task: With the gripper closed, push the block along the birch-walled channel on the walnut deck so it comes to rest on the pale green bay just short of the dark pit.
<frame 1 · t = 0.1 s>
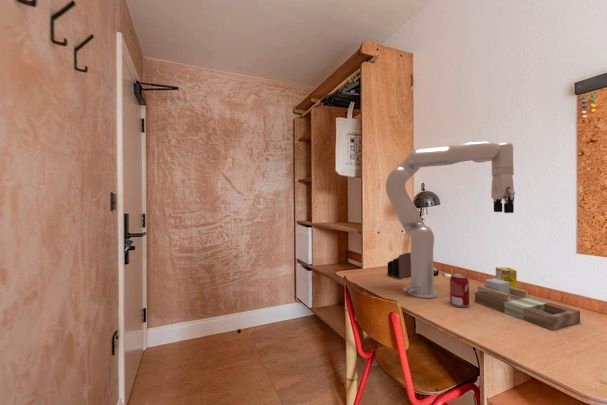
hand: (503, 212, 116), 37 cm above the table, tool pointing down, fingers open, 9 cm apart
letter holder: (406, 276, 155), on the table
block: (496, 293, 112), point 4 cm above the table, touching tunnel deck
supplement box: (506, 293, 124), on the table
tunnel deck: (522, 311, 103), on the table
soda can: (459, 305, 110), on the table
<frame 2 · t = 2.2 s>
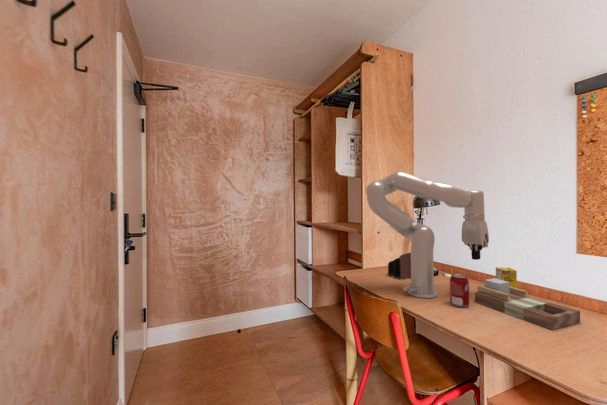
hand: (476, 259, 121), 16 cm above the table, tool pointing down, fingers closed
nothing on the table moved.
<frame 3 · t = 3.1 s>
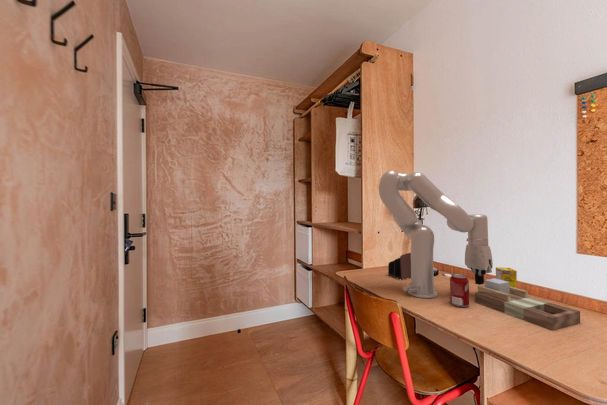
hand: (479, 283, 119), 6 cm above the table, tool pointing down, fingers closed
nothing on the table moved.
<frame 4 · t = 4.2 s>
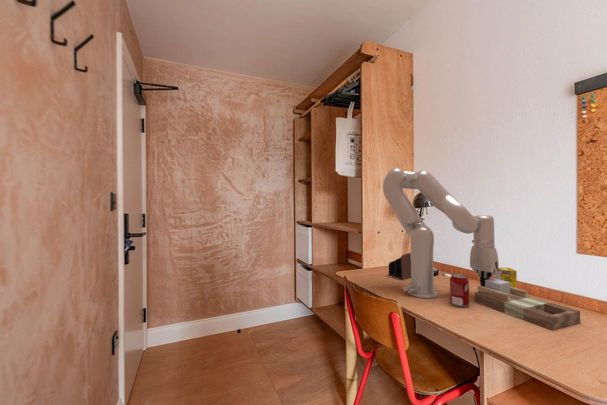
hand: (484, 286, 117), 5 cm above the table, tool pointing down, fingers closed
block: (497, 293, 112), point 4 cm above the table, touching gripper, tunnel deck
everything else where it was.
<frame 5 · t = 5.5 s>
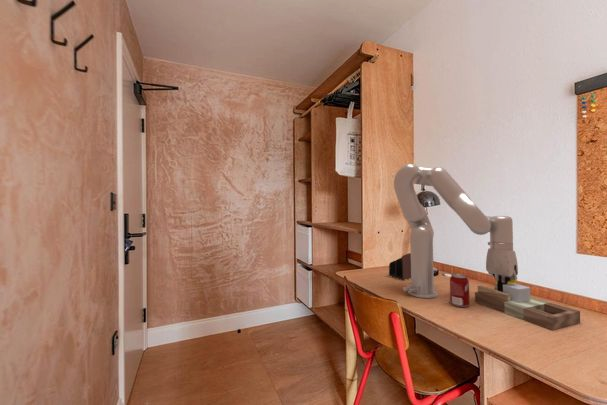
hand: (502, 291, 110), 5 cm above the table, tool pointing down, fingers closed
block: (516, 299, 105), point 4 cm above the table, touching gripper
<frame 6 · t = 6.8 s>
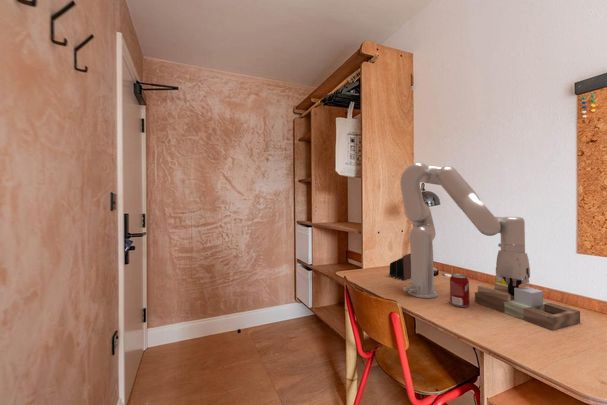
hand: (513, 295, 106), 5 cm above the table, tool pointing down, fingers closed
block: (528, 303, 100), point 4 cm above the table, touching gripper, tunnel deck
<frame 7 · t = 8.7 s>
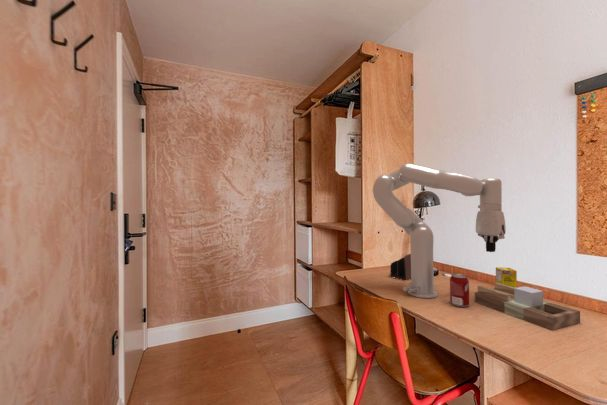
hand: (490, 251, 114), 21 cm above the table, tool pointing down, fingers closed
block: (528, 303, 100), point 4 cm above the table, touching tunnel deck
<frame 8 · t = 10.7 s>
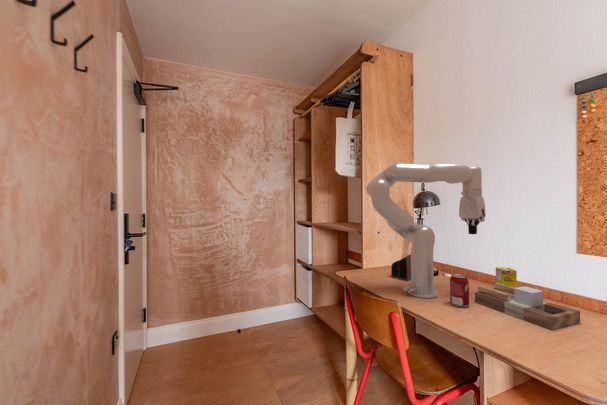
hand: (472, 233, 124), 27 cm above the table, tool pointing down, fingers closed
at the end: block inside the target area (1.3 cm from its centre), point 4.0 cm above the table; block tilted 0°; block moved 11.8 cm from its start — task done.
